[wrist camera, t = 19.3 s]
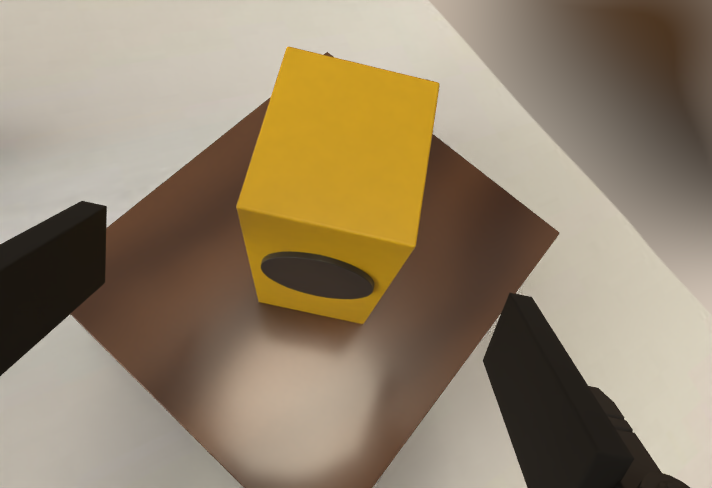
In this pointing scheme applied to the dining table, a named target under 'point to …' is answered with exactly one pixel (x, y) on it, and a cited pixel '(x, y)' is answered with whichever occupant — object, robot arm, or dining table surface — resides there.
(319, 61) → the yellow rectangular block
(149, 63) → the dining table surface
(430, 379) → the shelf
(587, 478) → the robot arm
